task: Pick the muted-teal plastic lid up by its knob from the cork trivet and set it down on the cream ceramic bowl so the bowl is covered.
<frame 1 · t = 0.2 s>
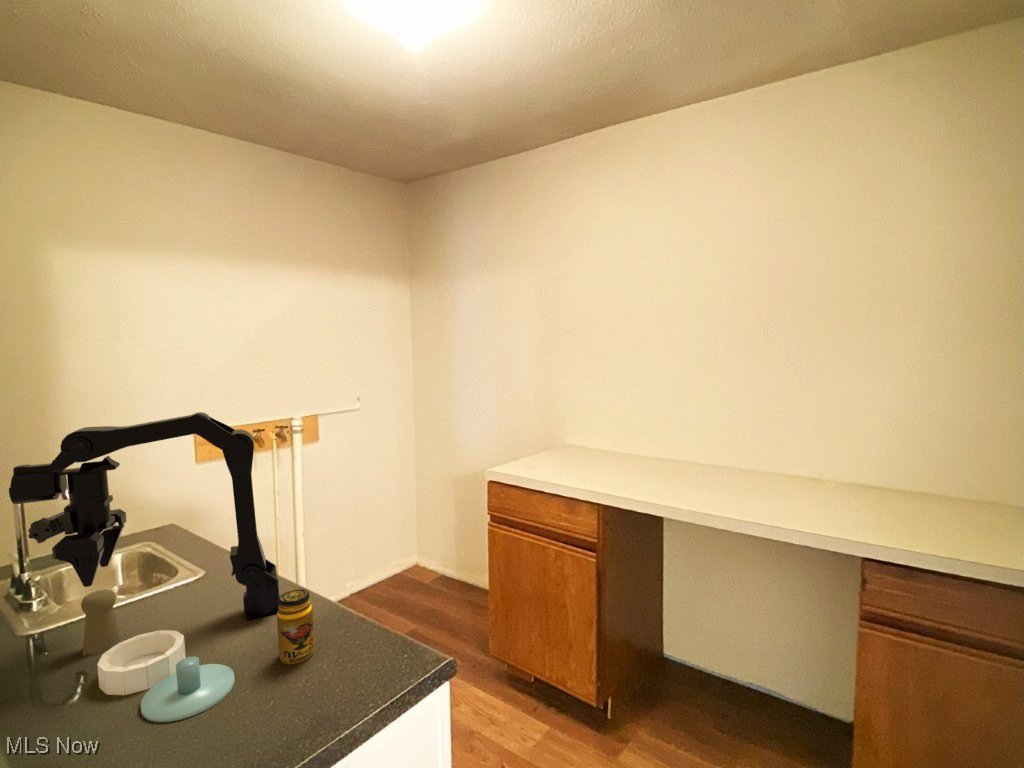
hand: (96, 575, 97), 14 cm above the countertop, fingers open, 9 cm apart
trivet: (189, 695, 84), on the countertop
pepper shaker: (102, 648, 98), on the countertop
bowl: (144, 673, 90), on the countertop
lid: (189, 693, 84), resting on trivet
condiment: (294, 657, 95), on the countertop
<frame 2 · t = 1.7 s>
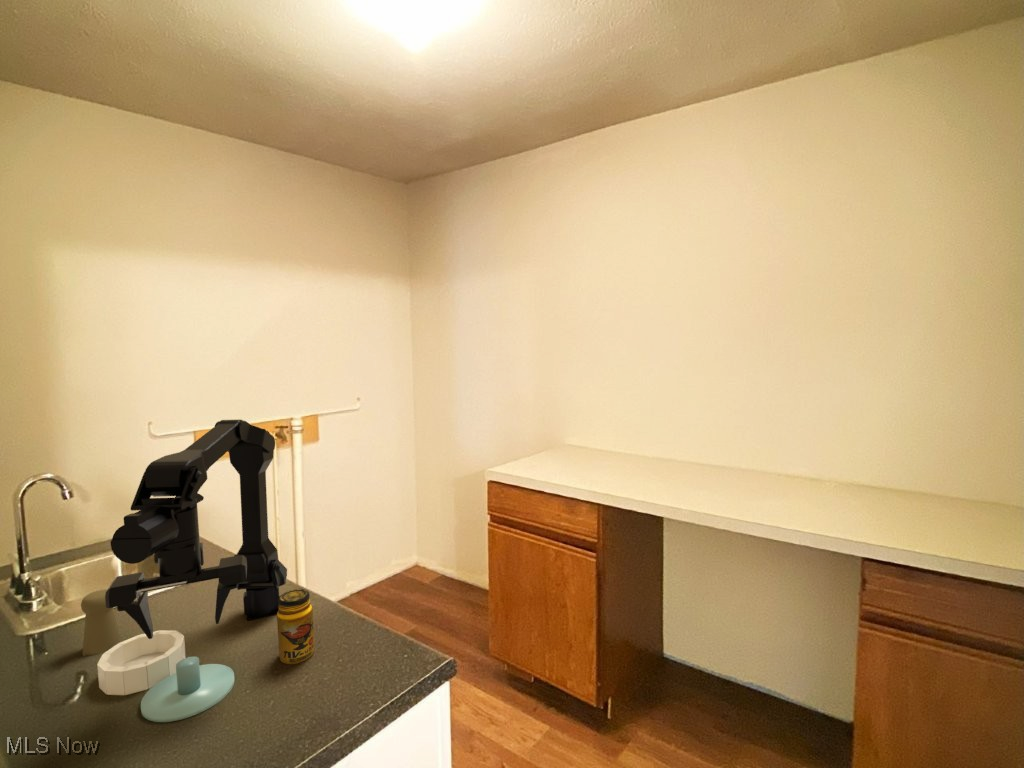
hand: (185, 630, 83), 11 cm above the countertop, fingers open, 9 cm apart
nothing on the countertop moved.
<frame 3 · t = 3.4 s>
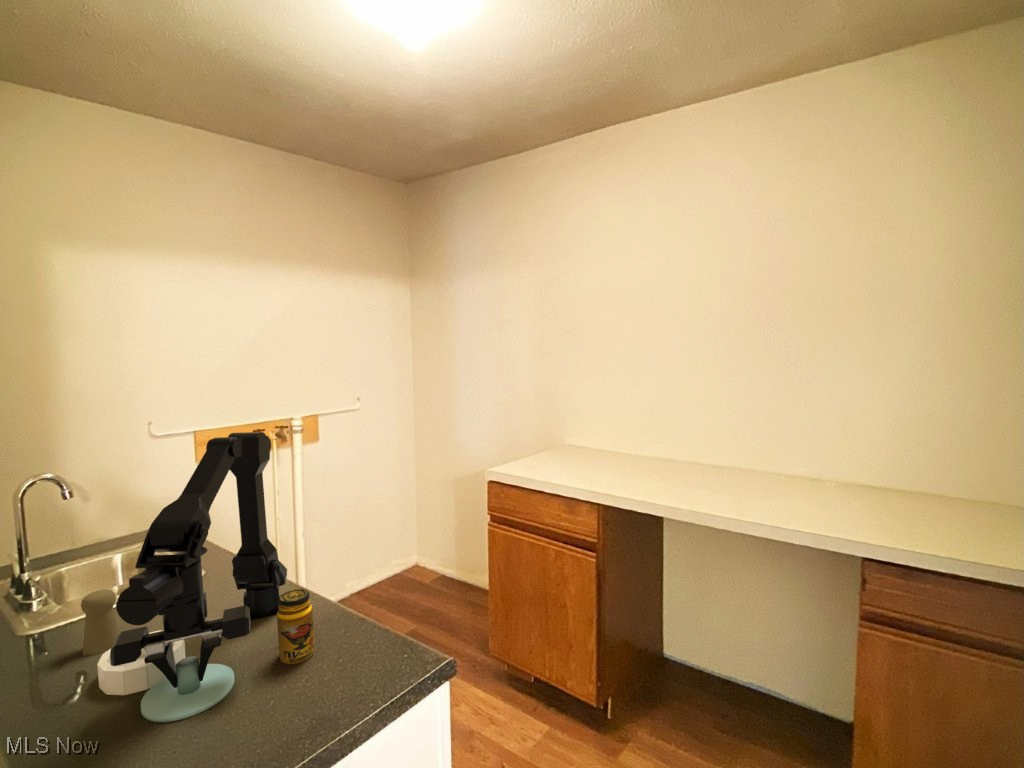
hand: (188, 683, 84), 2 cm above the countertop, fingers closed on lid, 3 cm apart
lid: (189, 693, 84), resting on trivet, touching gripper
everything else where it was.
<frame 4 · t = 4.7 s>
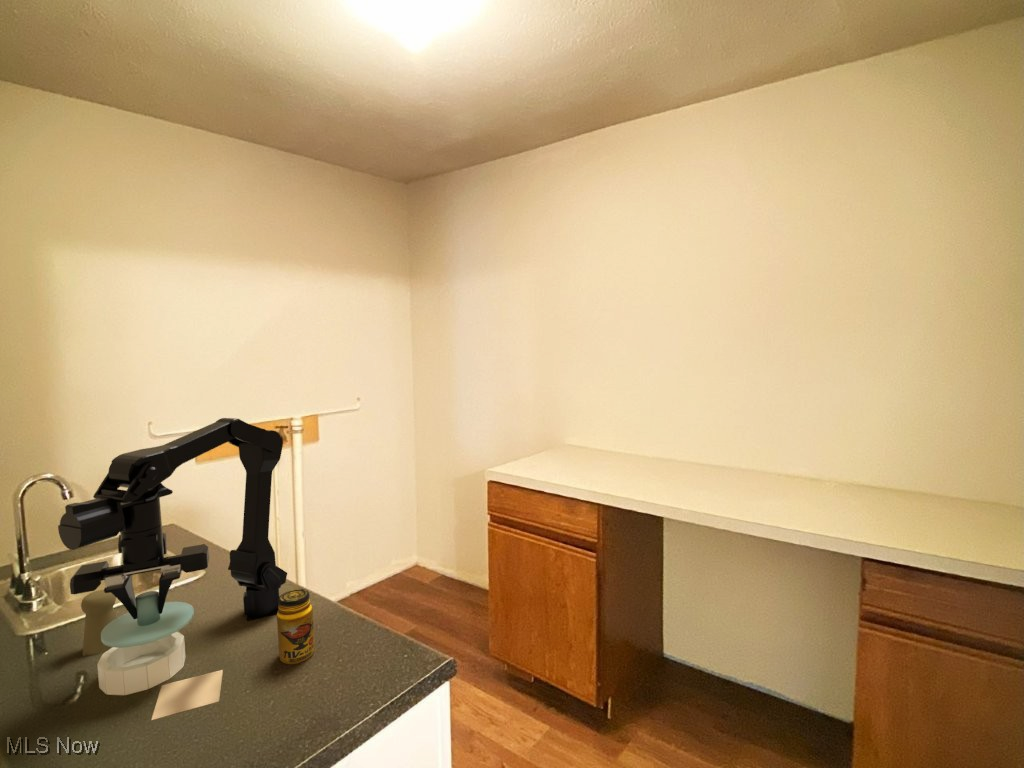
hand: (148, 615, 88), 11 cm above the countertop, fingers closed on lid, 3 cm apart
lid: (149, 625, 88), point 10 cm above the countertop, touching gripper
everything else where it was.
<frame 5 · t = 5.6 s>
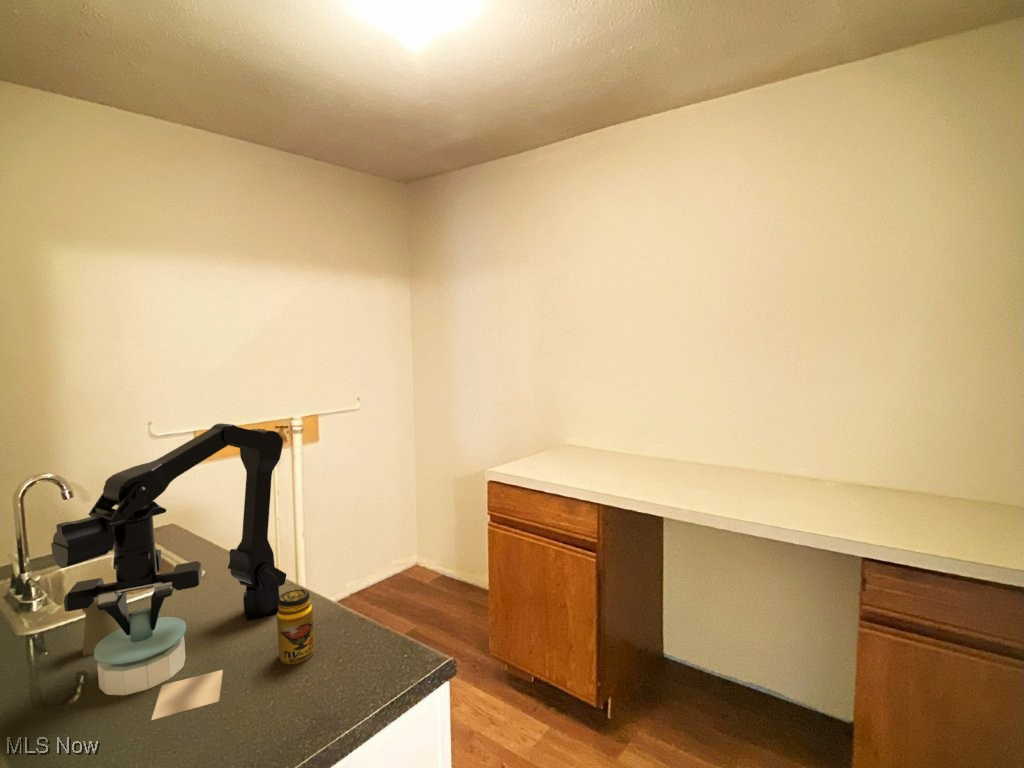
hand: (141, 631, 90), 8 cm above the countertop, fingers closed on lid, 3 cm apart
lid: (142, 641, 90), point 6 cm above the countertop, touching gripper
everything else where it was.
when the fingers open (8 cm above the countertop, at t = 6.2 s): lid drops 1 cm, resting on bowl.
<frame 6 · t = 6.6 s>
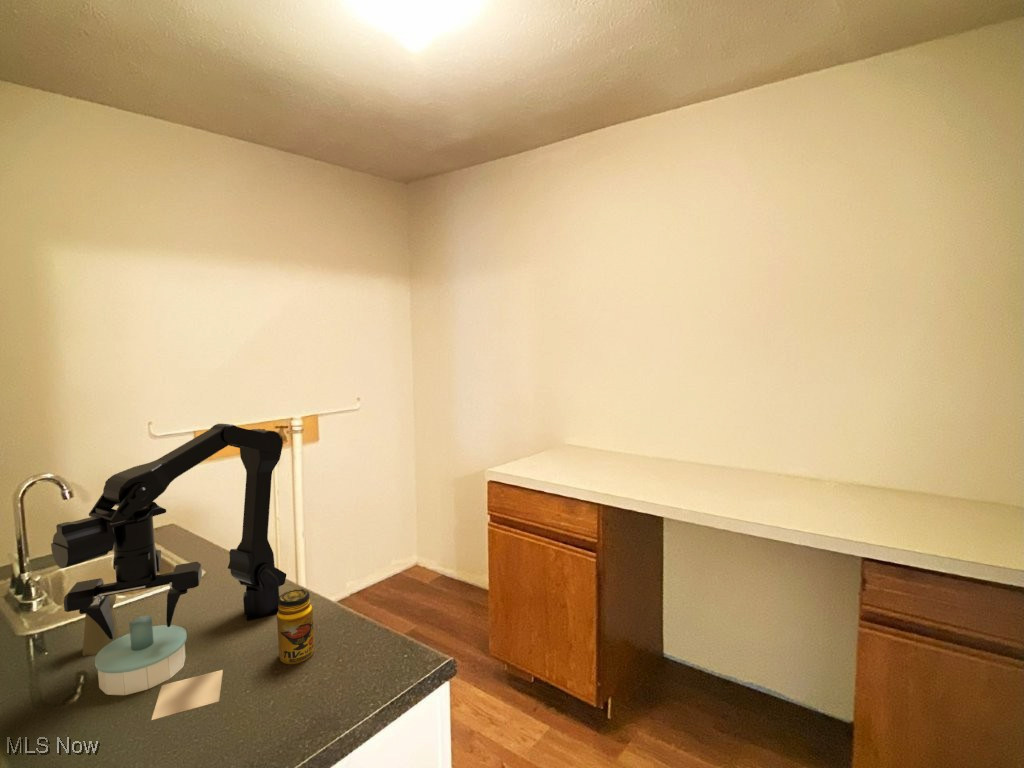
hand: (141, 631, 90), 8 cm above the countertop, fingers open, 8 cm apart
lid: (142, 649, 90), point 4 cm above the countertop, touching bowl
everything else where it was.
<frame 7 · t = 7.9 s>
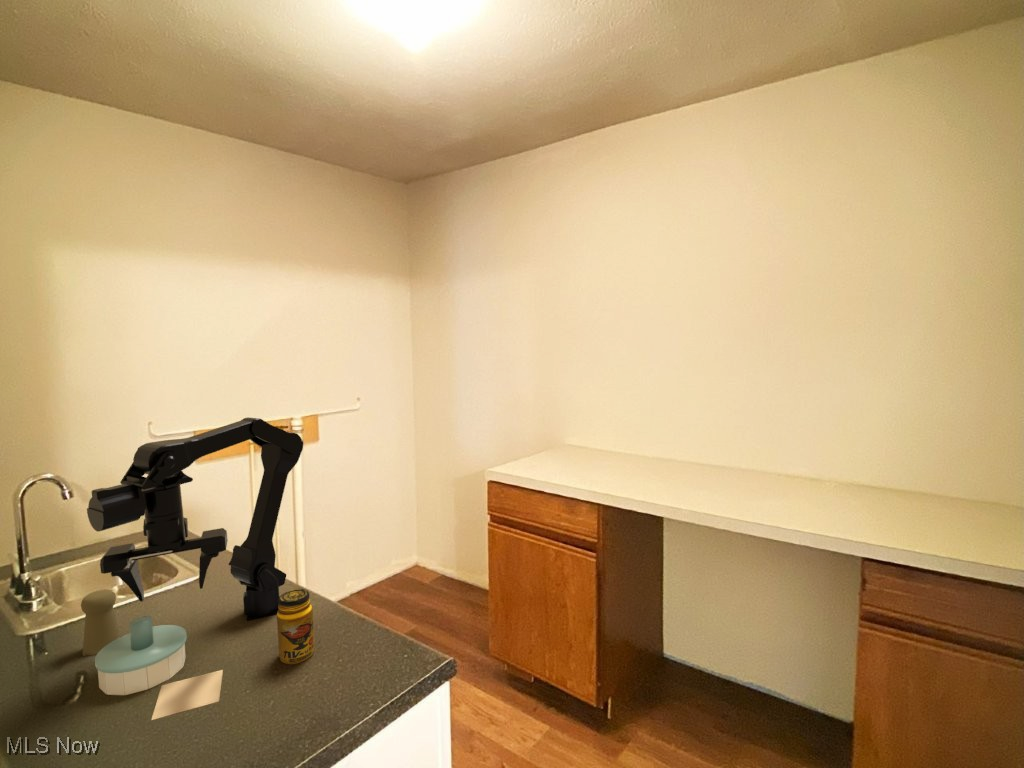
hand: (172, 593, 94), 12 cm above the countertop, fingers open, 9 cm apart
nothing on the countertop moved.
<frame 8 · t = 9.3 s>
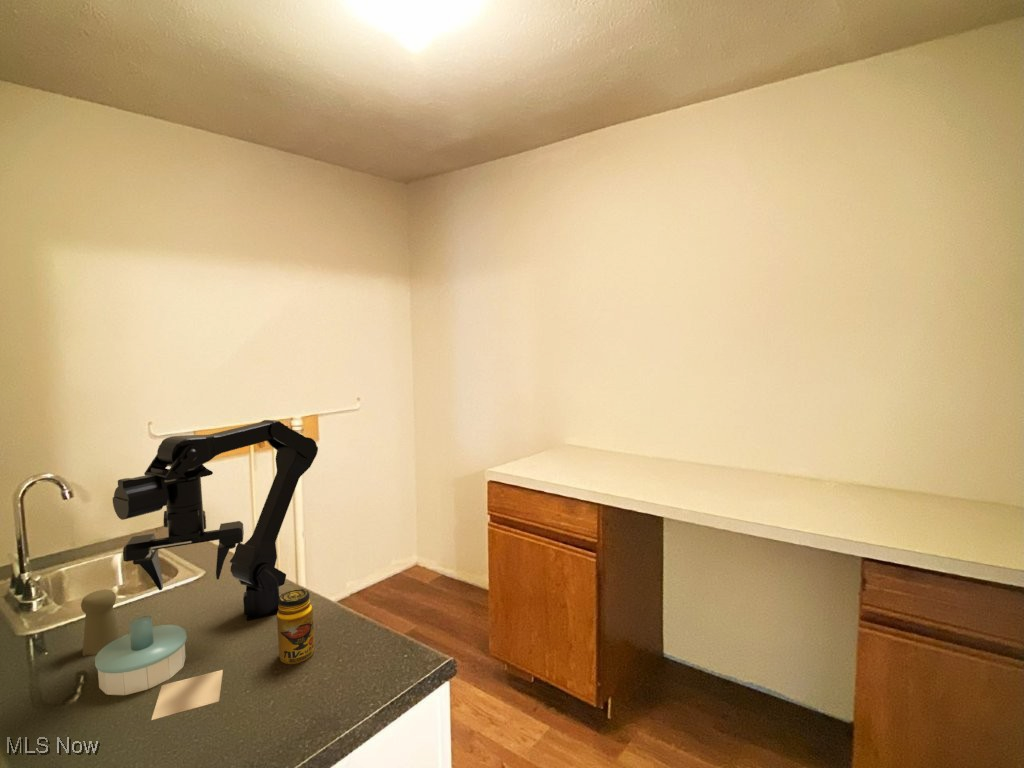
hand: (190, 583, 97), 13 cm above the countertop, fingers open, 9 cm apart
nothing on the countertop moved.
at the end: lid 0.0 cm off-centre on the bowl, point 4.5 cm above the bowl's base; lid tilted 0°; the gripper is holding nothing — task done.
